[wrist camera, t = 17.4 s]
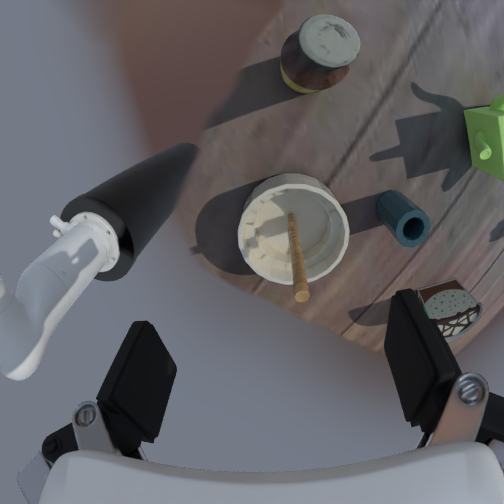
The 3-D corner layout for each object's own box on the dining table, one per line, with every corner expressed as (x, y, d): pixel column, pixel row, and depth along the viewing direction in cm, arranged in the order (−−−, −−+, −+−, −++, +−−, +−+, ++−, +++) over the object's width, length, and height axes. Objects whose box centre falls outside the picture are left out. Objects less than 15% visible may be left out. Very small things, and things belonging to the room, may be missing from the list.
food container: (407, 314, 48) (424, 351, 39) (410, 291, 45) (430, 328, 37) (456, 299, 46) (477, 332, 37) (461, 276, 43) (485, 308, 34)
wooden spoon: (287, 230, 40) (296, 308, 26) (285, 214, 39) (292, 286, 24) (297, 229, 40) (310, 306, 26) (295, 212, 39) (308, 284, 24)
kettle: (440, 142, 32) (485, 159, 22) (467, 72, 25) (514, 72, 16) (491, 188, 34) (531, 213, 24) (516, 125, 27) (558, 139, 17)
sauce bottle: (321, 47, 28) (370, -4, 11) (333, 90, 31) (396, 78, 13) (272, 56, 29) (273, 4, 12) (284, 98, 32) (300, 89, 15)
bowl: (224, 230, 42) (217, 250, 37) (280, 152, 36) (281, 160, 30) (299, 276, 45) (302, 300, 40) (358, 210, 39) (370, 227, 34)
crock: (369, 209, 38) (388, 232, 32) (391, 183, 36) (415, 202, 29) (391, 228, 40) (411, 254, 33) (411, 204, 37) (436, 226, 30)
